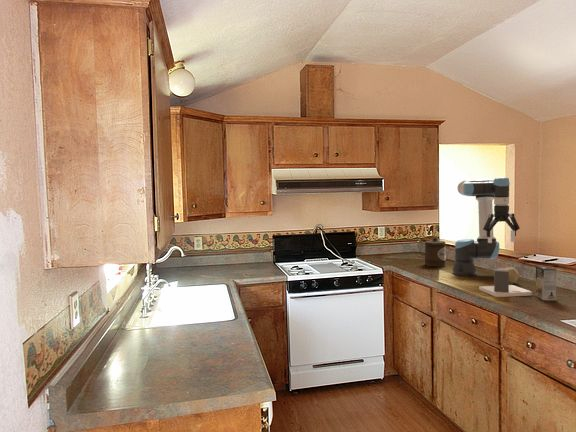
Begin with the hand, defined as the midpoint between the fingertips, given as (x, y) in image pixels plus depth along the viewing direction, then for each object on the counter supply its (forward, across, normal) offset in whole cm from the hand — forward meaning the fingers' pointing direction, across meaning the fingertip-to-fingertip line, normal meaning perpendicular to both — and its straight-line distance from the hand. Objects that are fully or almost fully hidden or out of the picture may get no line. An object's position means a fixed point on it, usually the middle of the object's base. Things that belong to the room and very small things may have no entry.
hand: (501, 242), depth 226 cm
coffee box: (+27, +10, -22) cm, 36 cm away
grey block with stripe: (+25, -7, -11) cm, 28 cm away
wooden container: (+27, -3, +78) cm, 83 cm away
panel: (+27, -3, -8) cm, 28 cm away
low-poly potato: (+27, +11, +12) cm, 31 cm away
